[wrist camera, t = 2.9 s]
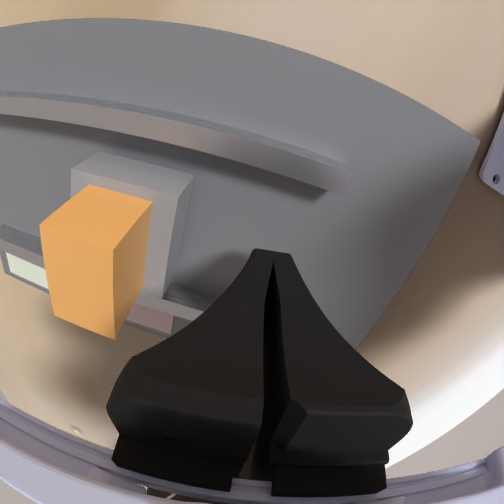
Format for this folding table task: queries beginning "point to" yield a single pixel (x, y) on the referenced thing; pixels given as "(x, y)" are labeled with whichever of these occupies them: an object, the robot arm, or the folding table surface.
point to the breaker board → (228, 158)
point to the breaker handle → (113, 239)
